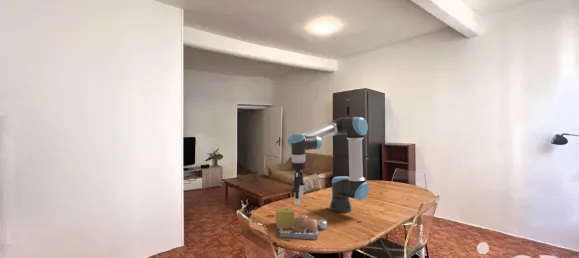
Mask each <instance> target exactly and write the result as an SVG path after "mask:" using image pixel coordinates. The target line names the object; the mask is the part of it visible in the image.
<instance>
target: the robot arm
mask: <svg viewBox="0 0 579 258" xmlns="http://www.w3.org/2000/svg"><path fill="white" fill-rule="evenodd" d="M368 130H369V125H368V122H367V120H365V118H364V117H359V116H351V117H350V116H349V117H345V116H344V117H340V118H336V119H334V120H331V121H329V122H327V124H324V125H323V126H319V127H316V128H314V129H311V130H308V131H305V132H303V133H302V132H301V133H300V132H299V133H292V134H291V135H290V136H289V137H288V139H287V144H288V146H289V147H290V150H291V155H290V158H291V169H292V170H294V182H293V190H292V193H294V205H301V198H304V186H305V183H304V172H303V171H304V170H306V151H311V150H317V149H318V150H319V149H320V148H321V147H322V146H323V140H322V139H324V138H325V139H326V138H327V137H330V136H337V135H345V138H346V139H347V140H348V171H349V172H348V175H349V176H347V175H346V176H345V175H344V176H343V175H342V176H341V175H340V176H334V177H333V178H332V179H331V194H332V195H331V201H330V204H329V210H330V211H331V212H334V213H338V214H339V213H340V214H345V213H347V214H348V213H350V212H352V204H351V201H350V199H354V200H357V201H364V200H365V199H366V198H367V197H368V196H369V193H370V185H369V183H367V182H366V177H364V174H363V173H364V172H363V171H364V170H363V168H364V167H363V165H364V164H363V140H364V138H365V136H366V134H367V133H368Z"/></svg>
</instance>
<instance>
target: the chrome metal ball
mask: <svg viewBox="0 0 579 258" xmlns="http://www.w3.org/2000/svg"><path fill="white" fill-rule="evenodd" d="M316 220H317V219H316ZM317 229H318V231H326V230H328V220H326V219H324V218H323V219H321V218H320V219H318V220H317Z"/></svg>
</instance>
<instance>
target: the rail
mask: <svg viewBox="0 0 579 258" xmlns="http://www.w3.org/2000/svg"><path fill="white" fill-rule="evenodd" d="M303 231H304V232H303V233H297V232H295V233H294V228H291V230H284V229H283V227H281V229H279V231H278V238H291V239H303V240H304V239H306V240H307V239H308V240H318V238H319V229H317V232H315V233H312V232H309V231H307V228H304V229H303Z"/></svg>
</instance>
